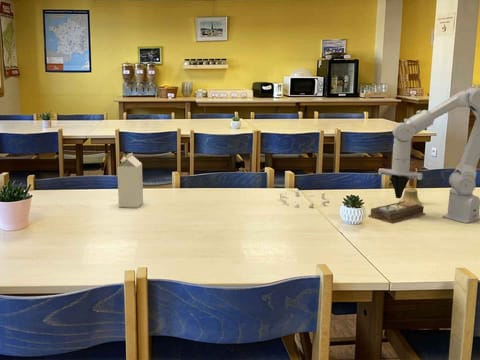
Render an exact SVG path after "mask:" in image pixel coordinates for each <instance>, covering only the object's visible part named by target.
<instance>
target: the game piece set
mask: <svg viewBox="0 0 480 360" xmlns="http://www.w3.org/2000/svg"><path fill="white" fill-rule="evenodd" d="M287 193H288V190H285V193H284V194H283V193H282V192H280V193H279V199H277V201H278V202H281V203H283V204H284V205H287V203H288V201H287V199H288V197H287V196H286V194H287ZM294 193H295V197H299V195H300V192H299V189H298V188H295V189H294ZM314 195H315V193H312V194H310V195H309V197H310V198H313V197H314ZM320 195H321V201H320V202H321V205H320V206H321V207H327V205H326V203H327V204H328V203H330V200H329V198H326V200H325V191H322V192H320ZM299 204H300V203H299V202H295V203H294V208H296V209H298V208H300V205H299ZM314 206H315V205H314V201H311V202H310V203H309V204H308V207H310V208H311V209H313V207H314Z"/></svg>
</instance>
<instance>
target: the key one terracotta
mask: <svg viewBox="0 0 480 360" xmlns="http://www.w3.org/2000/svg"><path fill="white" fill-rule="evenodd" d="M399 205H402V206H405V207H406V208H410V207H414V206H416V204H413V203H408V202H404V203H400V204H399Z"/></svg>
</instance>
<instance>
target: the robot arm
mask: <svg viewBox="0 0 480 360" xmlns="http://www.w3.org/2000/svg"><path fill="white" fill-rule="evenodd" d="M457 108H469V109H470V110H471V111H472V113H473V115H474V116H475V120H474V124H473V127H472V129H471V133H470V135H469V138H468V140H467V143H466V146H465V149H464V151H463V154H462V157H461V160H460V162H459V163H458V165H456V167H455V169H454V170H453V172H452V173H451V174H450V175H449V178H448V183H449V185H450V186H451V188H450V189H449V196H448V197H449V198H448V204H447V205H448V207H447V214H442V215H441V217H442V218H445V219H448V220H449V219H450V220H453V221H457V222H461V223H464V224H470V223H472V222H475V221H479V220H480V217H479V215H480V197H479V196H477V195H475V194H473V193H474V190H475V189H476V186H477V185H476V178H477V166H478V164H479V160H480V87H476V86H475V87H474V86H470V87H467V88H465V89H464V90H461V91H459V92H457V93H455V94H454V95H452V96H450V97H449V98H447V99H446V100H444V101H443V102H441V103H439V104H438V105H436V106H435V107H433V108H431V109H429V110H427V109H423V110H419V109H418V110H417V111H416V112H415V113H416V114H414V115H413V116H411V117H408V118H404V119H403V121H404V122H399V123H396V124H395V125H394V127H393V130H392V135H393V146H392V159H391V160H392V161H391V162H392V163H391V168H380V169H378V175H379V176H383V175H384V176H390V179H389V180H390V183H391V184H392V187H393V190H394V195H395V198H396V199H402V198H403V195H404V192H405V189H406V186H407V184H408V183H409V180H410V178H412V179H414V180H418V181H421V180H423V175H424V174H423V173H421V172H417V171H416V172H412V171H409V167H410V163H411V149H412V146H411V144H412V143H411V142H412V141H411V140H413V137H414V135H417V134H418V133H421V132H422V131H424V130H426V129H428V128H429V127H431V126H433V125H434V122H435V120H436V119H437V118H440V117H441V116H444V115H445V114H447V113H449V112H451V111H453V110H455V109H457Z"/></svg>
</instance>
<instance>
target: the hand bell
mask: <svg viewBox="0 0 480 360" xmlns="http://www.w3.org/2000/svg"><path fill="white" fill-rule="evenodd" d="M409 171H412V172H417V170H416V163H415V161H410V167H409ZM414 180H415V179H412V178H410V179H409V181H408V188H407V187H406V188H404V191H403V194H402V197H401V198H400V200H398V203H399V202H403V201H405V202H409V203H413V204H417V205H421V206H422V201H420V199H419V195H418V190H417V188H415V183H414V182H415V181H414Z"/></svg>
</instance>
